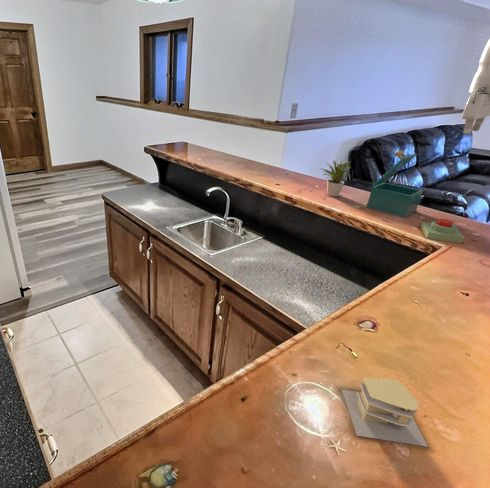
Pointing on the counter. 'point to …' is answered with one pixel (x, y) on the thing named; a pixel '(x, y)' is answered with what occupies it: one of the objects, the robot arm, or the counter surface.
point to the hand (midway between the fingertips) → (470, 132)
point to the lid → (395, 167)
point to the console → (441, 232)
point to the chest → (394, 199)
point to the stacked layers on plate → (384, 411)
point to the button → (444, 222)
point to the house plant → (336, 178)
